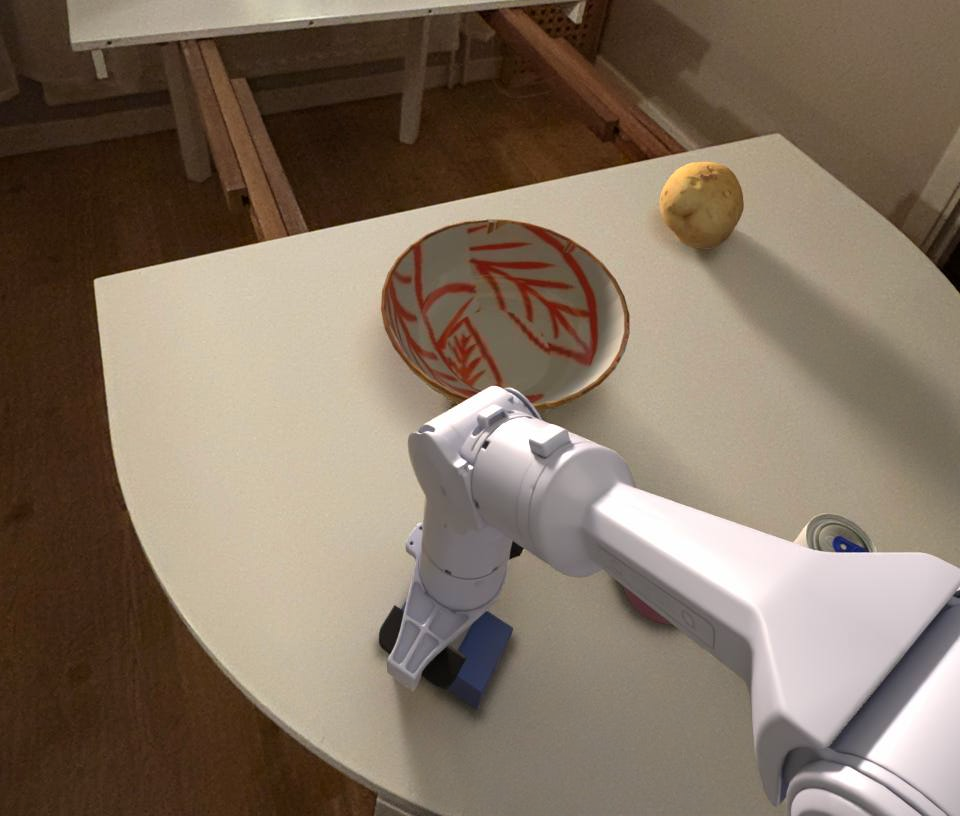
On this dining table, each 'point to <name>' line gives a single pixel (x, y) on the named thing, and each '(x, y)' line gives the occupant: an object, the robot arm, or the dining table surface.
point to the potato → (702, 204)
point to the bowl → (505, 312)
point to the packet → (479, 656)
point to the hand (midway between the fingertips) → (452, 620)
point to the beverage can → (835, 535)
